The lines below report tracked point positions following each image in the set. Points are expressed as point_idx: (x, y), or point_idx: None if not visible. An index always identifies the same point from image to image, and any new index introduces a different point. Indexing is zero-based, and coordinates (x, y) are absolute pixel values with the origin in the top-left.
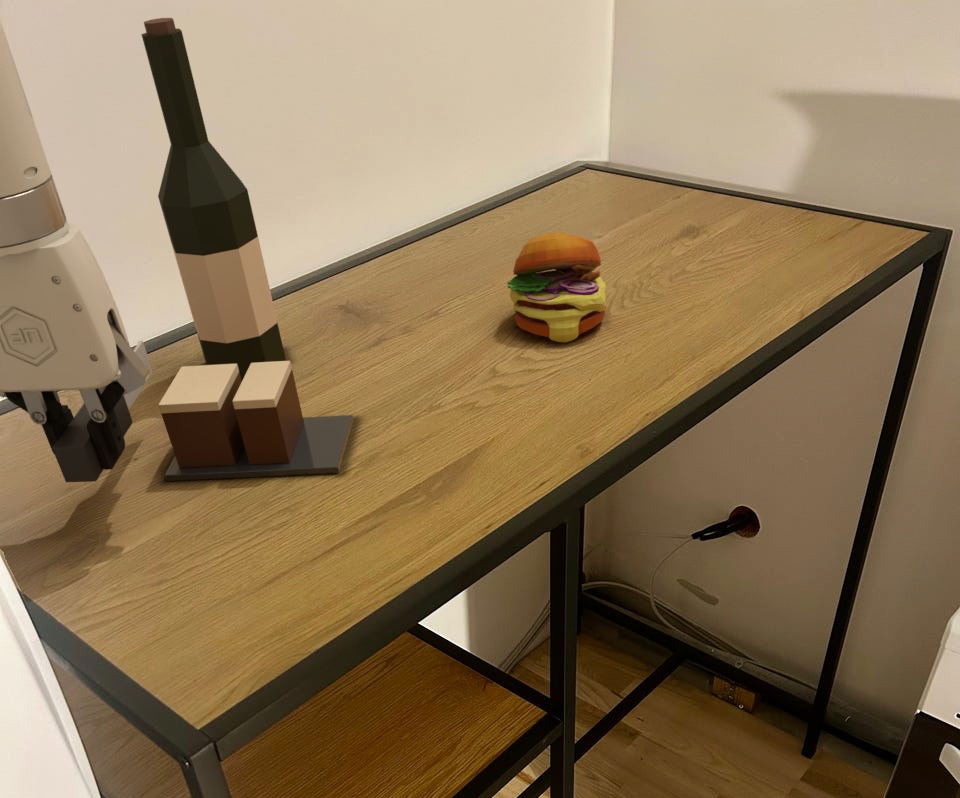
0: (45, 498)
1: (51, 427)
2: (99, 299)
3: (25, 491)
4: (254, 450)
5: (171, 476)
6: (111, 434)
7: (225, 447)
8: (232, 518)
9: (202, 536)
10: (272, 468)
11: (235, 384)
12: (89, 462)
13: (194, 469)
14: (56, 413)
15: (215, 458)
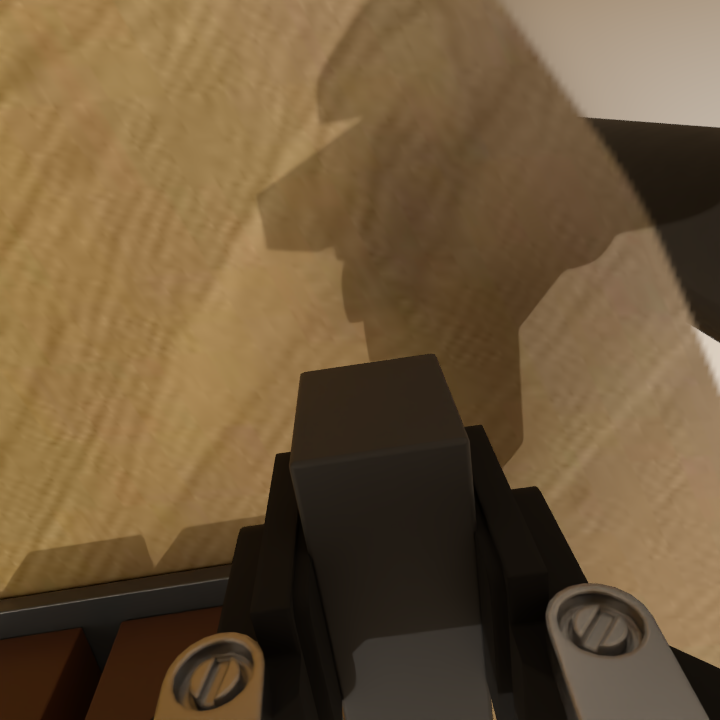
0: (634, 451)
1: (508, 569)
2: None
3: (707, 475)
4: (37, 668)
5: None
6: (226, 591)
7: (118, 668)
8: (5, 415)
9: (43, 324)
10: (3, 619)
11: None
12: (295, 420)
13: None
14: (519, 674)
15: (165, 633)
